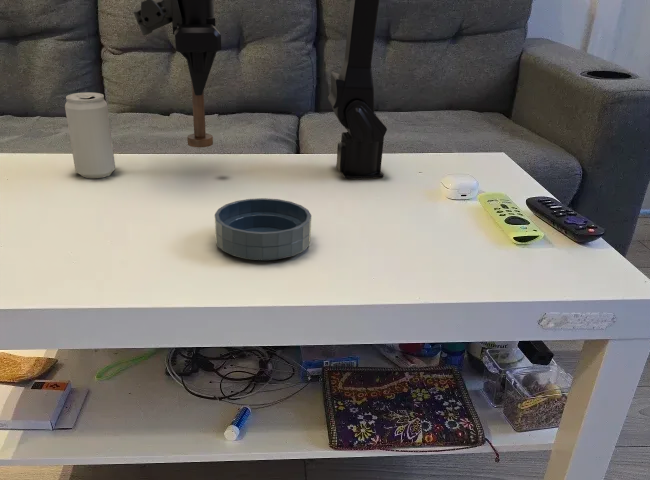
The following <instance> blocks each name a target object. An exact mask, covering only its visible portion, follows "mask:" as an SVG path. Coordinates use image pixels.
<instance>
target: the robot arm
mask: <svg viewBox="0 0 650 480" xmlns="http://www.w3.org/2000/svg"><path fill="white" fill-rule="evenodd" d="M214 6H215V5H214V0H141V1H140V6H138V7H136V8H134V9H133V11H132V13H133V15H134V18H135V20H136V22H137V25H138V27H139V30H140V32H141V34H142V36H147V35H150V34H152V33H153V31H155V30H158V29H160V28H162V27H164V26H166V25H169V24H171V27H172V29H171V31H172V35H174V46H175V48H174V49H175V51H176V52H178V53H179V54H180V55H182V57H184V58H185V59H186V63H187V66H188V67H187V68H188V71H189V76H190V81H191V80H192V85H193V89H194V93H195V95H196V96H200V95H202V94H203V91H204V92H205V89H206V85H207V82H208V78H209V75H210V73H211V69H212V66H213V64H214V61H215V59H216V56H217V52H219V51H222V34H221V33H220V31H219V30H218V29H217V26H216V17H215V7H214ZM379 6H380V0H350V4H349V14H348V15H349V16H348V24H347V34H346V41H345V50H344V51H345V52H344V59H343V63H342V66H341V67H340V71H339V73H337V72H333V71H331V72H330V91H329V95H328V96H327V100H328V102H329V103H330V105H331V108H332V111H333V113H334V115H335V117H336V118H337V120H338V122H339V123H340V124H341V126H343V127H344V129H346V131H345V132H344V131H342V132H341V137H340V142H338V143H337V148H336V149H337V151H336V166H335V168H336V169H337V170H338V172H339V173H340V174H341V176H342V177H343V179H345V180H357V179H358V180H360V179H380V178H381V179H382V178H384V176H385V174H384V173H383V172H382V171H381V169H382V161H383V151H384V140H385V135H386V133H387V131H388V128H387V126H386V125H385V124H384V122H383V121H382V120H381V119H380V118H379V116H378V114H376V112H375V88H374V79H373V78H374V77H373V71H372V69H373V68H372V61H373V53H374V46H375V45H374V44H375V36H376V30H377V21H378V16H379V15H378V14H379ZM192 85H191V86H192Z"/></svg>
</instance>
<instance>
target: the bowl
mask: <svg viewBox="0 0 650 480" xmlns="http://www.w3.org/2000/svg"><path fill="white" fill-rule="evenodd" d="M311 230H312V214H311V212H310V210H309V209H307V208H306V207H305V206H303V205H301V204H299V203H297V202H296V203H295V202H294V201H291V200H290V201H289V200H285V199H280V198H268V197H267V198H266V197H261V198H260V197H259V198H257V197H256V198H246V199H240V200H235V201H232V202H229V203H226V204H224V205H222V206H221V207H219V208H218V209H217V210H216V212H215V213H214V233H215V242H216V246H217V247H218V248H219V249H220V250H221V251H223V252H224V253H227V254H229V255H231V256H233V257H236V258H237V257H238V258H241V259H245V260H250V261H261V262H262V261H263V262H264V261H265V262H266V261H276V260H282V259H286V258H290V257H294V256H297V255H298V254H301V253H302V252H304V251H305V250H306V249H307V248H309V246H310V243H311V235H312V234H311V233H312V232H311Z"/></svg>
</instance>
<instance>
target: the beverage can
mask: <svg viewBox="0 0 650 480" xmlns="http://www.w3.org/2000/svg"><path fill="white" fill-rule="evenodd" d="M104 95H105V94H103V93H100V92H86V91H85V92H75V93H70V94H68V95H66V96H65V100H66V102H65V104H64V109H65V116H66V122H67V128H68V134H69V141H70V148H71V153H72V158H73V165H74V170H75V172H76V174H78V175H80V176H81V177H83V178H86V179H102V178H106V177H109V176H110V175H112V173H113V172H114V171H115V170H116V161H115V154H114V153H115V152H114V145H113V138H112V130H111V122H110V116H109V115H110V114H109V113H110V112H109V108H108V107H109V106H108V102H107V101H106V100H105V96H104Z"/></svg>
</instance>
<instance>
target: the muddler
mask: <svg viewBox="0 0 650 480" xmlns="http://www.w3.org/2000/svg"><path fill="white" fill-rule="evenodd" d="M190 81H191V82H190V83H191V96H192V97H191V101H192V119H193V133H190V134H188V135H187V138H186V139H187V145H188V146H189V147H191V148H208V147H211V146H213V145H214V136H213V135H212V134H210V133H206V131H207V130H206V113H205V112H206V109H205V90H204V91H203V94H202V95H200V96H196V95H195V93H194V89H193V85H192V80H191V79H190Z"/></svg>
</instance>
